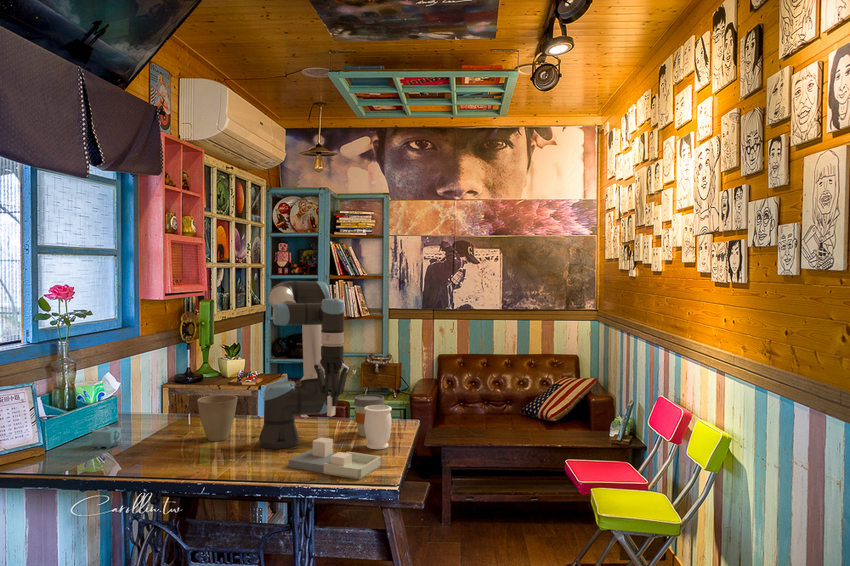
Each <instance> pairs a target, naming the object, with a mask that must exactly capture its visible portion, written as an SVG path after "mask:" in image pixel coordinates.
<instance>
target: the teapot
mask: <svg viewBox="0 0 850 566" xmlns="http://www.w3.org/2000/svg"><path fill="white" fill-rule="evenodd" d="M89 430H90V431H91V433H92V439H91V447H96V449H97V450H98V449H102V448H103V447H104V448H105V449H106V450H107V449H111V448H112V447H115V446H117V445H118V444H120V443H121V442H122V440H121V439H122V432H121V430H122V428H121V427H110V426H109V425H107V426H103V427H100V428H98V429H94V428H89Z"/></svg>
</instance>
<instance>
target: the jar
mask: <svg viewBox="0 0 850 566" xmlns="http://www.w3.org/2000/svg"><path fill="white" fill-rule="evenodd" d="M365 411H366V414H365V420H364V427H365V435H366V436H365V438H366V439H365V440H366V441H367V444H366V447H367V449H371V450H384V449H387V448H388V447H389V443H388V441H389V439H390V436H391V431H392V424H393V423H392V415H391V412H392V406H389V405H385V404H384V405H370V406H366V407H365Z"/></svg>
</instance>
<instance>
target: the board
mask: <svg viewBox="0 0 850 566" xmlns="http://www.w3.org/2000/svg"><path fill="white" fill-rule="evenodd" d="M338 452H339V451H338ZM338 452H337V451H333V453H332V454H330V455H328V456H326V457H320V456H314V455H313V448H311V449H308V450H307V451H304V452H302V453H300V454H298V455H296V456H294V457H291V458H289V459H288V468H292V469H298V470H303V469H304V471H310V472H315V473H320V474H321V473H322V474H324V463H328V464H331V456H332V455H334V454H336V453H338Z"/></svg>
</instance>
